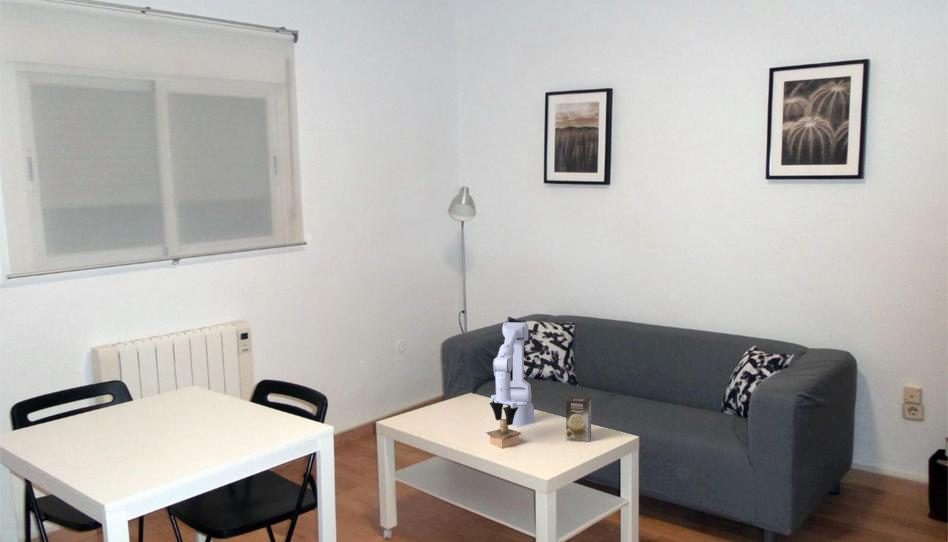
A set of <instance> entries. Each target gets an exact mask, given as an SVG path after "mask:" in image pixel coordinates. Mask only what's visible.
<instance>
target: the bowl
mask: <svg viewBox="0 0 948 542" xmlns="http://www.w3.org/2000/svg"><path fill="white" fill-rule="evenodd" d="M489 437H490V438H489V441H490V442H489V443H490V444H491V445H493V446H495V447H498V448H500V449H502V450H503V449H506V448H510V447H514V446H517V445H520V435H518V436H515V437H512V438H508V439H505V440H502V439H499V438H496V437H493V436H490V435H489Z"/></svg>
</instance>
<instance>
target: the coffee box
mask: <svg viewBox="0 0 948 542" xmlns="http://www.w3.org/2000/svg"><path fill="white" fill-rule="evenodd" d="M565 414H566V415H565V419H566V420H565V421H566V422H565V424H566V425H565V427H566V431H565V432H566V433H565V435H566V438H565V439H566V440H565V441H573V442H582V443H589V442H590V441H591V439H592V398H591V397H583V396H582V397H581V396H580V397H579V396H568V397H567V399H566V400H565Z"/></svg>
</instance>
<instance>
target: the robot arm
mask: <svg viewBox="0 0 948 542" xmlns="http://www.w3.org/2000/svg"><path fill="white" fill-rule="evenodd" d="M501 330H502V335H503V337H504V343H503V344H501V345H500V347H499V349H498V352H497V353H498V354H497V356H496V357H495V358H493V361H492V368H493V369H492V370H493V375H494V377H495V394H491V395H490V400H491V402H489V405H490V407H491V408H492V411H493V415H494V417H495V421H500V420H501V419H503V411H504V415H505V419H506V422H507V425H508V426H514V427H516V428H520V427H525V426H528V425H533V424H536V421H535V407H534V405H533V403H532V402H531V401H532V388H531V387H532V386H531V384H530V383H529V382H528V381H527V380H525V364H524V363H525V355H524V354H525V353H524V352H525V351H524V349H525V348H524V346H525V345H524V344H525V342H527V341H528V340H529V324H528V323H527V322H524V321H523V322H517V321H515V322H509V321H504V322H503V324H502V329H501ZM511 371H512V380H511ZM504 406H505V407H504Z"/></svg>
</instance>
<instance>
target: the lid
mask: <svg viewBox="0 0 948 542" xmlns="http://www.w3.org/2000/svg"><path fill="white" fill-rule="evenodd" d="M491 431H492V432H490V431H488V432H489V433H488V434H487V435H488V436H489V437H490V436H493V437H496V438H499V439H502V440H505V439H508V438H512V437H515V436H518V435H519V436H521V435H522V433H521V432H520V431H517V430H514V429H510V428H509V425H507V422H506V418H501V420H499V428H498V429H495V430H491Z"/></svg>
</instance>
